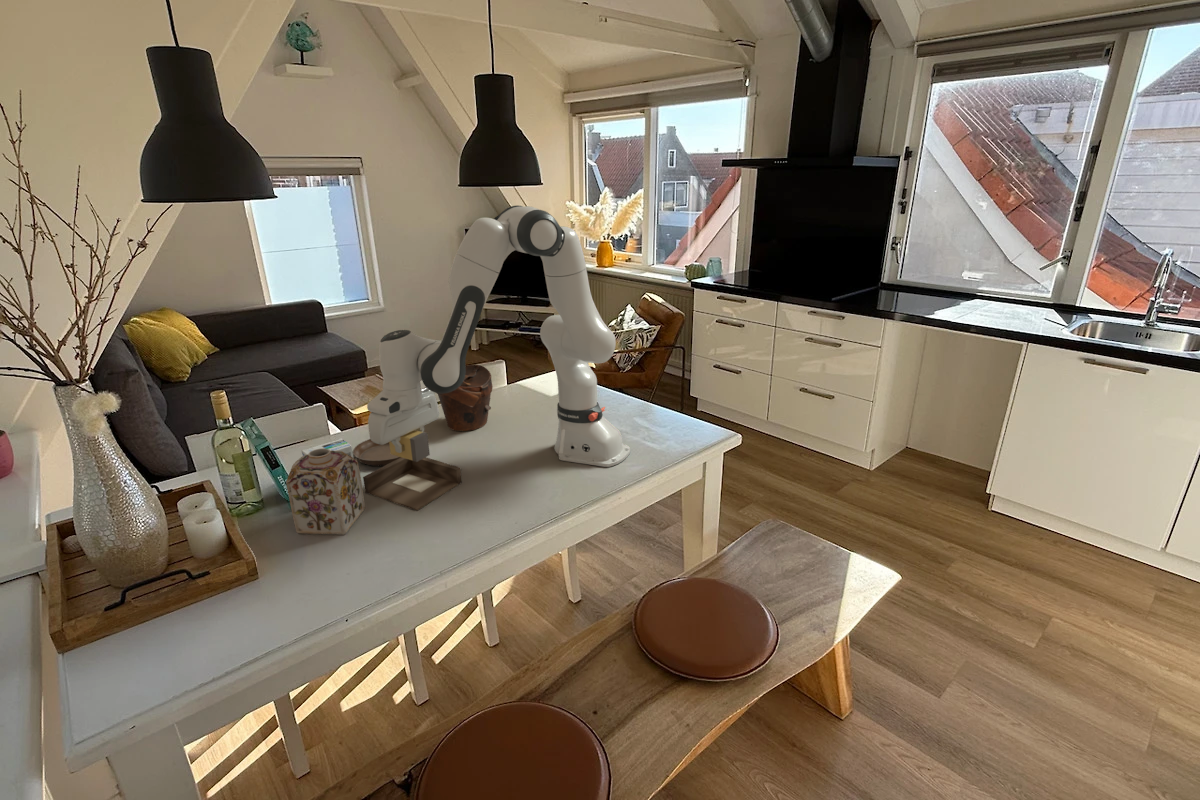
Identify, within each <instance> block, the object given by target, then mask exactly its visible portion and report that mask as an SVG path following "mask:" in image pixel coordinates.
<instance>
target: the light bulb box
mask: <svg viewBox="0 0 1200 800" xmlns="http://www.w3.org/2000/svg"><path fill="white" fill-rule="evenodd" d="M323 448H325V449H329V450H330V451H342V452H344V453H346V454H348V455H350V456H351V457H353V458H354V455H353V448H352V445H351V444H350V443H349V442H347V441H346V440H344V439H343V438H342V437H340V438H338V439H335V440H331V441H328V442H326V443H322V444H319V445H315V446H312V447H309V448H306V449H302V450H301V455H302V456H305V455H308V454H309V452H311V451H313V450H316V449H323Z"/></svg>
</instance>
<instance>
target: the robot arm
mask: <svg viewBox="0 0 1200 800" xmlns="http://www.w3.org/2000/svg"><path fill="white" fill-rule="evenodd" d="M458 246H459V247H458V249H457V250H456V253H455V255H454V258H453V260H452V264H451V267H450V271H449V276H448V285H449V289H450V294H451V304H452V305H451V313H450V316H449V319H448V320H447V321H448V322H447V324H446V327H445V328H444V329H445V330H444V332H443V334H442V337H441V339H440V340H439V339H433V338H428V337H423V336H421V335H418V334H416V333H415V332H413V331H411V330H409V329H399V330H394V331H391V332H389V333H387V334H385V335H383V336H382V338H381V339H380V341H379V345H378V356H379V357H378V358H379V359H378V361H379V368H380V371H381V372H380V373H381V374H382V378H383V381H382V390H381V391H380V392H379V393H378V394H377V395H376V396H375V397H374V398H373V399H371V400H370V401H368V402H367V405H366V407H367V411H369V412H370V413H369V416H368V418H367V425H368V433H369V439H371V441H373V442H374V443H377V444H380V445H384V444H386V443H388V442H390V441H391V442H392V443H393V444H394V446H395V450H396V452H398V453H401V452H403V451H405V449H404V445H403V444H400V442H399V441H400V437H401V436H403V435H405V434H407V433H409V432H411V431H414V430H416V431H420V432H424V433H425V426H426V425H428V424H431V423H432V422H435V421H437V420H438V419H439V416H440V409H439V405H438V400H437V398H436V394H437V393H440V394H444V393H449V392H452V391H454V390H456V389H457V388H458V387H459V386H460V385H461V384H462V383H463V381H464V378H465V373H466V367H465V366H466V359H467V354H468V350H469V347H470V345H471V342H472V340H473V336H474V334H475V332H476V329H477V325H478V323H479V320H480V317H481V313H482V311H483V309H484V308H485V304H486V303H487V300H488V298H489V296H490V294H491V292H492V290H493V287H494V286H495V283H496V281H497V279H498V277H499V275H500V273H501V270H502V268H503V264H504V262H505V261H506V259H507V258H508V256H509V255H510V254H511V253H512V252H514V251H517V252H520V253H524V254H529V255H531V256H535V257H540V259H541V261H542V266H543V272H544V277H545V284H546V289H547V294H548V298H549V302H550V304H551V306H552V307H553V309H555V310H556V312H557V314H555V315H554V314H553V315H550V316H548V317H547V318H546V319H544V321H543V322H542V325H541V327H540V331H539V334H540V335H539V336H540V339H541V342H542V344H543V345H544V346H545V347H546V349H547V351H548V353H549V355H550V357H551V361H552V364H553V367H554V370H555V373H556V379H557V392H558V393H557V394H558V396H557V397H558V402H557V405H556V406H557V409H556V412H557V420H558V424H557V425H558V426H557V435H556V441H555V444H554V452H555V453H556V454H557V455H558V458H559V459H558V460H560V461H564V462H570V463H571V462H572V463H575V464H576V463H578V464H583V465H590V466H591V465H592V466H597V467H605V468H610V467H614V466H617V465H618V464H620V463H623V461H624V460H626V459H627V458H628V456H629V455H630V453H631V447H630V446H629V445H627V444H626V443H625V444H624V443H623V436H622V434H621V431H620V430H619V429H618V428H617V427H615V426H614V425H613V424H612V423H611V422H610V421H609V420H608V419H606V417H605V416H604V415H603V412H605V411H606V409H605V408H606V406H603V407H600V404H599V402H598V379H597V375H596V373H594V372H595V371H593V370H592V368H591V367H590V365H589V364H602V363H603V364H604V363H606V362H608V361H609V360H610V359H611V358H612V356H613V355H614V352H615V350H616V344H617V343H616V336H615V334H614V332H613V331H612V330H611V328H609V327H608V326H607V325H606V323H605V322H604V320H603V319H602V316H601V314H600V313H599V311H598V309H597V307H596V304H595V302H594V300H593V297H592V292H591V288H590V283H589V281H590V280H589V276H588V271H587V265H586V264H587V263H586V259H585V254H584V251H583V247H582V243H581V240H580V238H579V235H578V233H577V231H575V229H573V228H571V227H568V226H561V225H560V224H559V222H558V221H557V220H556V218H555V217H554V216H553V215H552V214H550V213H549V212H548V211H546V210H543V209H539V208H537V207H534V206H529V205H528V206H527V205H526V206H523V205H511V206H509V207H507V208H505V209H504V210H503V211H501V212H500V213H499V214H498V215H496V216H495V217H494V218H491V217H479V218H477V219H476V220H475V221H474V222H473V223H472V225H470V227H469V228H468V231H467V232H466V234H465V235H464V237H463V239H462V241H461V242H460V245H458ZM421 382H422V384H423V385H424V386H425V387H424V388H422V386H421Z"/></svg>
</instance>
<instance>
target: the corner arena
mask: <svg viewBox="0 0 1200 800" xmlns="http://www.w3.org/2000/svg"><path fill="white" fill-rule="evenodd" d="M362 479H363V485H364V491H365V493H364V494H368V495H371V496H374V497H377V498H380V499H383V500H385V501H388V502H390V503H394V504H396V505H400V506H402V507H405V508H408V509H410V510H411V509H412V510H414V511H419V510H421V509H422V508H424V507H426V506H427V505H429V504H431V503H432V502H434V501H435V500H437V499H438V498H439V497H442V496H444V495H445V494H447V493H448V492H450V491H451V490H453V489H455V488H456V487H457V486H459V485H461V484H462V483H463V481H462V470H461V467H460V466H456V465H453V464H451V463H446V462H443V461H440V460H437V459H432V458H430V457H425V458H423V459H421V460H419V461H418V462H415V461H412V460H409V459H405V458H402V457H401V458H399V459H397V460H395V461H393V462H391V463H389V464H387V465H385V466H380V468H378V469H375V470H374V471H372V472H370V473H368V474H366V475H365V476H363V477H362Z"/></svg>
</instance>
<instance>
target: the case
mask: <svg viewBox="0 0 1200 800" xmlns="http://www.w3.org/2000/svg"><path fill="white" fill-rule="evenodd" d="M465 367H466V373H465V378H464V381H463V383H462V384H461V385H460V386H459V387H458V388H457V389H456V390H454V391H452V392H449V393H444V394H440V393H436V394H437V396H438V399H439V403H440V405H441V408H442V411H443V414H444V418H445V420H446V421H445V422H446V425H447V427H448V428H449V430H452V431H456V432H467V431H468V432H469V431H474V430H477V429H480V428H482V427H484V426H485V425H486V424H487V423H488V418H489V411H490V410H491V409H492V408H491V406H490V403H491V402H490V401H491V395H492V391H493V381H492V374H491V371H490V370H489V369H488V368H487V367H486V366H485V367H484V366H483V365H480V364H467V365H465Z"/></svg>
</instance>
